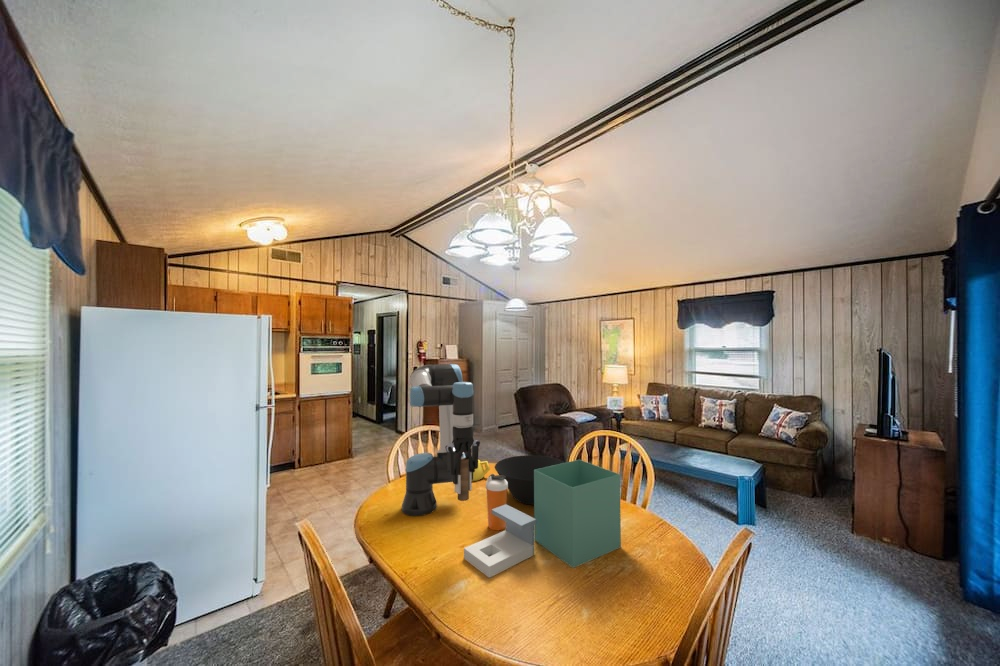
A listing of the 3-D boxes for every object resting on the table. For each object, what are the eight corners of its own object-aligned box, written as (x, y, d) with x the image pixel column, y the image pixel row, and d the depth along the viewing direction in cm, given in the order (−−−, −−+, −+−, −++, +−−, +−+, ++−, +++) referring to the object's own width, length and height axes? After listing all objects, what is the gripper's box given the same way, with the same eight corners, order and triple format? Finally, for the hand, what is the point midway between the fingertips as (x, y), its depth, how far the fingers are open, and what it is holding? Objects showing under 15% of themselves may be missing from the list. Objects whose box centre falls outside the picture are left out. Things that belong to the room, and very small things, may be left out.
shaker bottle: (505, 532, 146) (505, 480, 146) (483, 530, 148) (483, 479, 148) (509, 522, 154) (509, 473, 155) (488, 520, 156) (488, 471, 157)
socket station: (462, 557, 129) (462, 520, 130) (506, 537, 142) (505, 504, 142) (491, 579, 117) (491, 538, 117) (536, 555, 130) (536, 519, 130)
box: (572, 568, 123) (572, 487, 124) (534, 540, 140) (533, 469, 141) (621, 547, 135) (620, 474, 136) (580, 523, 153) (579, 459, 153)
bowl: (581, 493, 183) (581, 462, 184) (550, 523, 153) (550, 486, 154) (518, 479, 202) (518, 451, 203) (480, 503, 172) (479, 470, 173)
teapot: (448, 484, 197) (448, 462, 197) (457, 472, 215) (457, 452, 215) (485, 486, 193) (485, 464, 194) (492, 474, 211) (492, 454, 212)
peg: (455, 498, 135) (455, 458, 135) (464, 495, 137) (464, 456, 138) (461, 501, 132) (461, 461, 132) (471, 498, 134) (470, 459, 135)
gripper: (447, 430, 127) (447, 500, 126) (488, 424, 138) (488, 488, 137) (436, 427, 133) (436, 493, 132) (476, 420, 143) (476, 482, 143)
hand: (463, 491), depth 135 cm, fingers closed on peg, 4 cm apart
